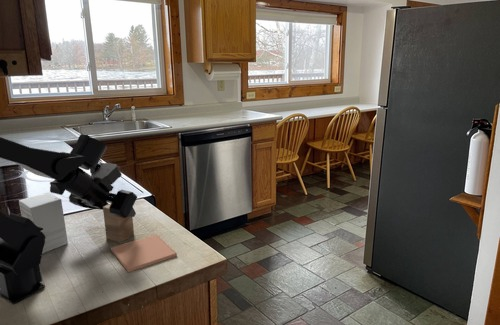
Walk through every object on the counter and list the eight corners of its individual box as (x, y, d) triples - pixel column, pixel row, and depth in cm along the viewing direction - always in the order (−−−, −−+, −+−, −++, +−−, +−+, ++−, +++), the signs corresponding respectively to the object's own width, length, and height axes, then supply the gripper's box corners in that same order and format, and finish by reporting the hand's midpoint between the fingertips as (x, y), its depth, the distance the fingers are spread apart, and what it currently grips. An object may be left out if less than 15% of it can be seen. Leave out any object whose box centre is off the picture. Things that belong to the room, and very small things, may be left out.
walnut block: (120, 242, 96) (116, 210, 93) (106, 238, 98) (102, 206, 96) (134, 234, 100) (131, 203, 98) (120, 230, 102) (117, 200, 100)
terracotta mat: (128, 272, 83) (127, 269, 82) (111, 250, 92) (111, 247, 92) (176, 255, 90) (176, 252, 89) (156, 236, 99) (156, 234, 99)
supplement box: (55, 235, 99) (48, 191, 96) (68, 244, 95) (62, 198, 91) (26, 245, 94) (17, 199, 90) (38, 255, 89) (30, 207, 86)
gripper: (127, 161, 85) (162, 190, 98) (73, 151, 93) (111, 180, 106) (104, 204, 81) (143, 229, 93) (48, 190, 89) (91, 215, 101)
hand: (122, 211), depth 98 cm, fingers open, 9 cm apart
